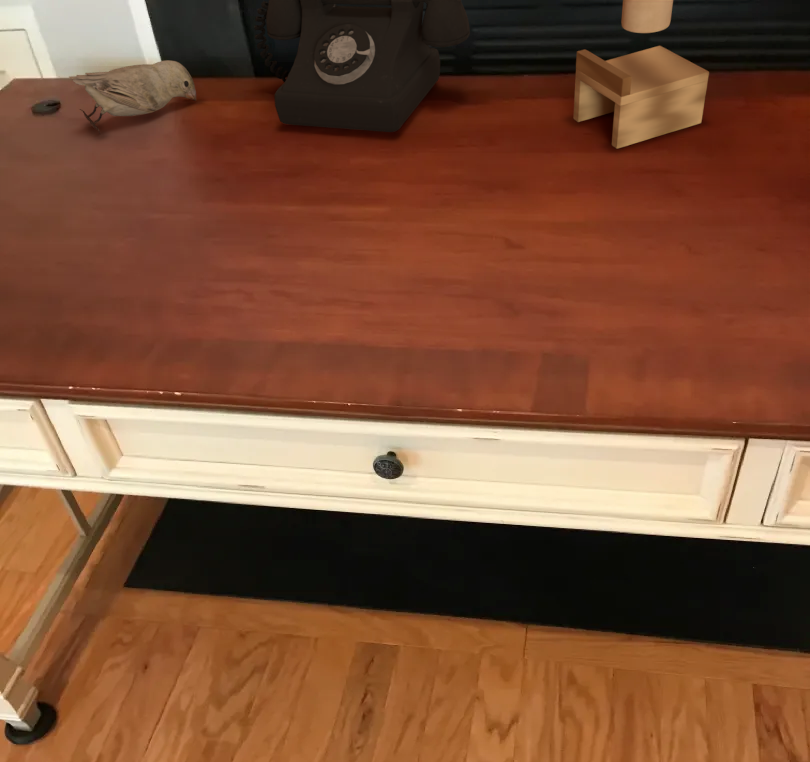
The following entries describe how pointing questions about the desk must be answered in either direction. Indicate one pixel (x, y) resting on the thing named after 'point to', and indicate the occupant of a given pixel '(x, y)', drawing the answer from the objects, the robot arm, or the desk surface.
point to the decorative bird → (136, 88)
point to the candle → (646, 15)
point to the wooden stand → (640, 93)
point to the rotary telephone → (359, 58)
